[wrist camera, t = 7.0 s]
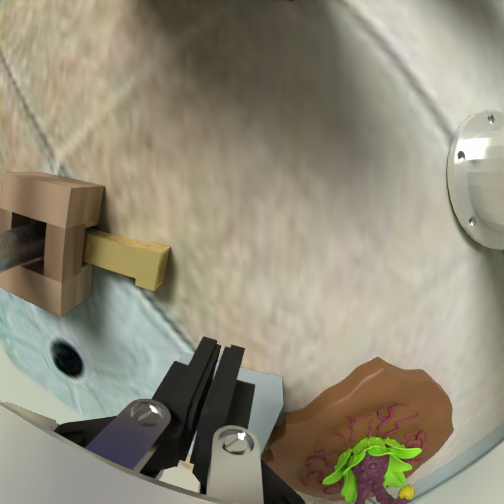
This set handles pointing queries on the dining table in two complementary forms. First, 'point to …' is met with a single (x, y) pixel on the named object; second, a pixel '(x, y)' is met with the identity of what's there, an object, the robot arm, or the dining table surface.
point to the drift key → (127, 257)
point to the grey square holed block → (257, 401)
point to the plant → (363, 435)
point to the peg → (22, 245)
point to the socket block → (51, 237)
